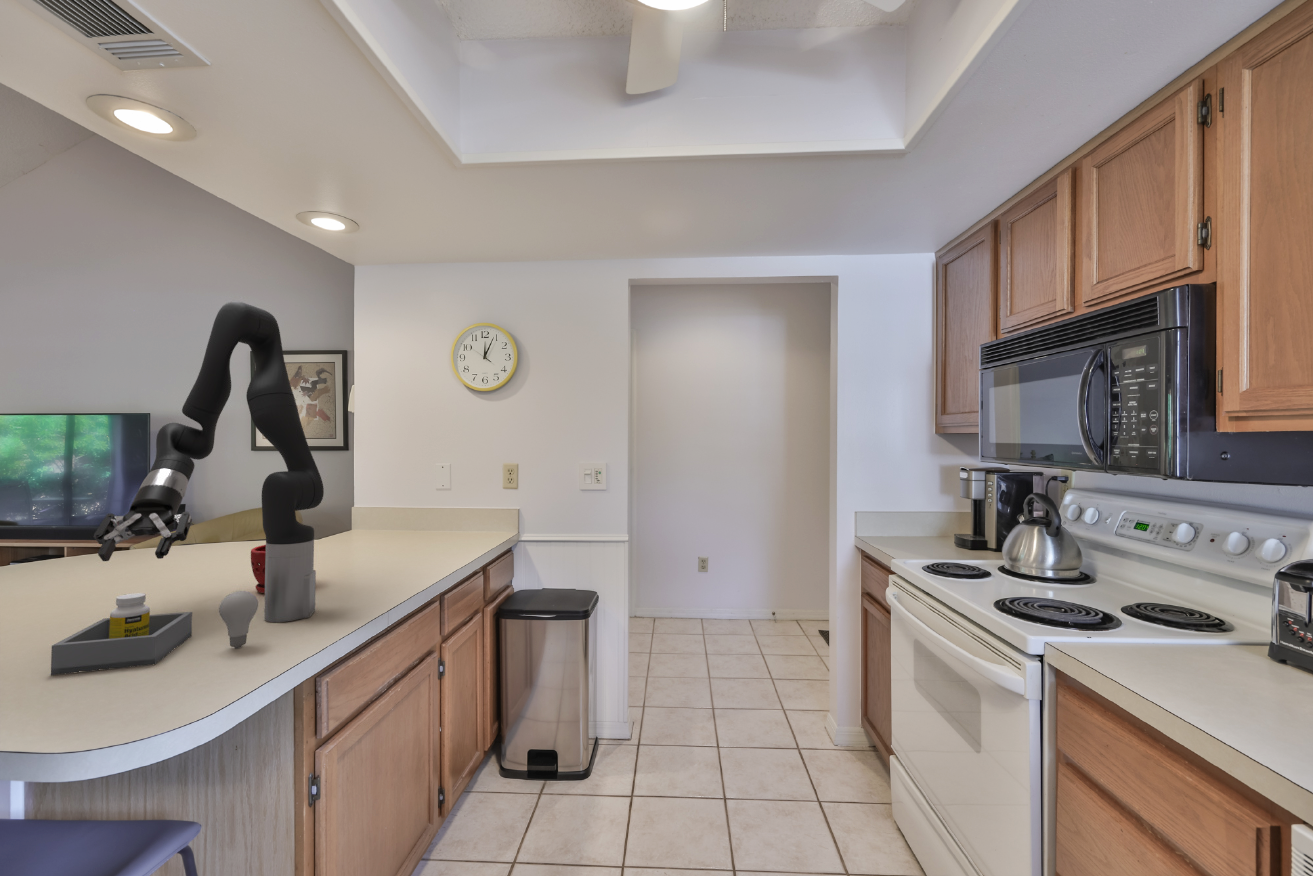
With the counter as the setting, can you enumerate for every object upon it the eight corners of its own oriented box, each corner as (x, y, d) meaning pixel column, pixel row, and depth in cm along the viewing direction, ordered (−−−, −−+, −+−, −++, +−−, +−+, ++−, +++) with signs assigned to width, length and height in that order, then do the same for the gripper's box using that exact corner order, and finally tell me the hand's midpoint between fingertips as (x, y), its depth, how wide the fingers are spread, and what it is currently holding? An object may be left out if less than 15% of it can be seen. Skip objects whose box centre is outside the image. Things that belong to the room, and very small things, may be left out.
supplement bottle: (122, 654, 99) (124, 600, 99) (100, 651, 100) (102, 598, 101) (156, 644, 104) (157, 593, 105) (134, 641, 106) (136, 590, 106)
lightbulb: (214, 656, 102) (215, 597, 102) (222, 645, 107) (223, 589, 107) (254, 651, 105) (255, 593, 105) (260, 640, 110) (261, 585, 110)
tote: (191, 636, 112) (192, 611, 112) (154, 664, 98) (155, 636, 98) (103, 644, 107) (103, 618, 107) (50, 675, 93) (51, 645, 93)
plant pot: (268, 584, 152) (269, 541, 152) (318, 583, 154) (319, 540, 154) (238, 597, 139) (239, 550, 139) (293, 596, 141) (294, 550, 141)
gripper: (112, 483, 114) (76, 549, 103) (196, 482, 119) (170, 544, 109) (125, 506, 119) (92, 570, 108) (205, 504, 124) (182, 565, 113)
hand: (131, 557), depth 108 cm, fingers open, 8 cm apart
